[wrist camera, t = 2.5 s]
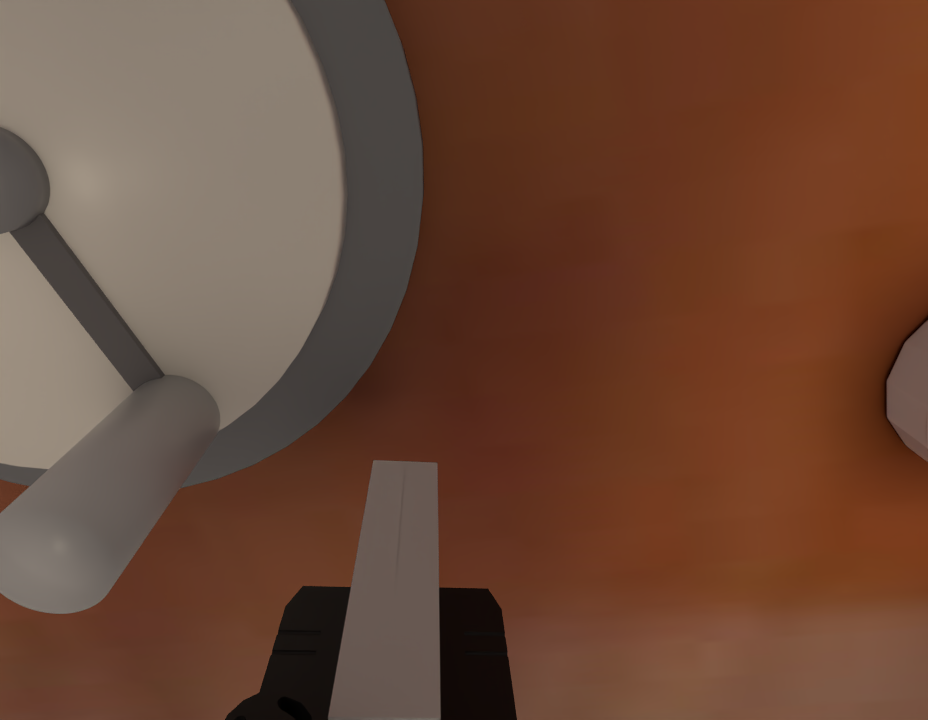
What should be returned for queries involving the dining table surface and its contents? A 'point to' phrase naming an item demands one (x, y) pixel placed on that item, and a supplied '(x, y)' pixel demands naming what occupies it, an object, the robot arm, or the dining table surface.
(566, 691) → the dining table surface
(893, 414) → the white cup
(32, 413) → the cream crank wheel
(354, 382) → the stand base
